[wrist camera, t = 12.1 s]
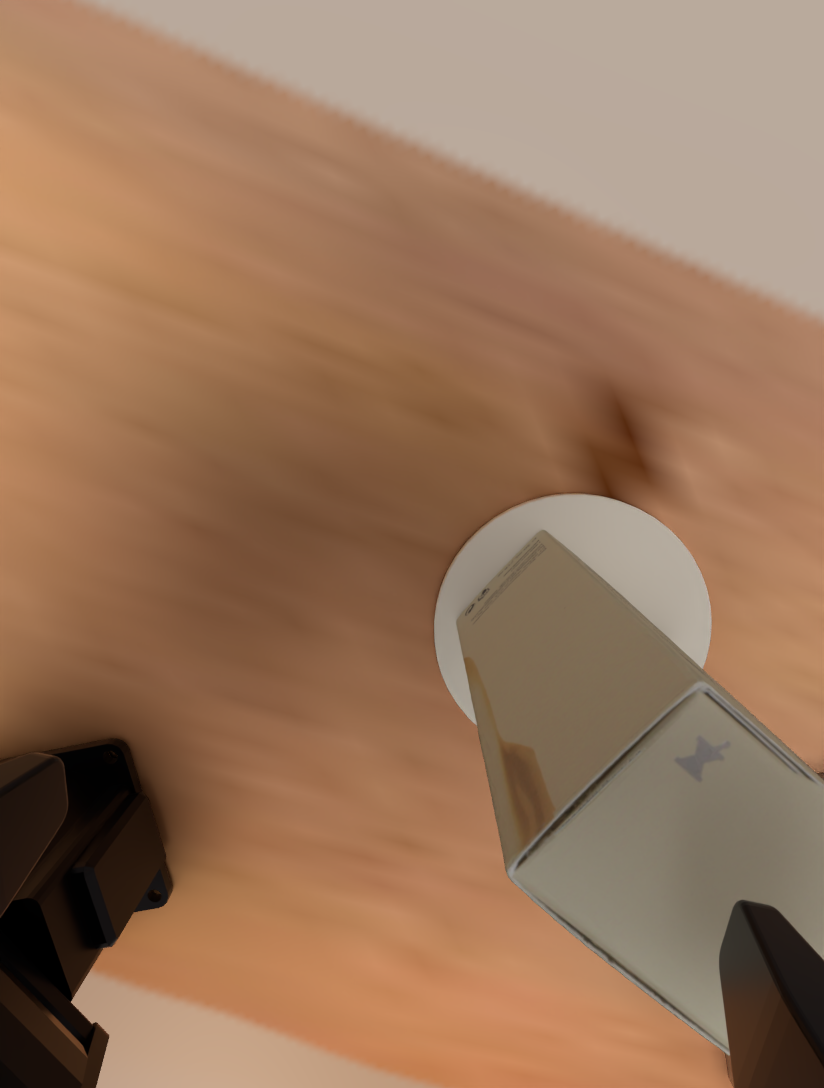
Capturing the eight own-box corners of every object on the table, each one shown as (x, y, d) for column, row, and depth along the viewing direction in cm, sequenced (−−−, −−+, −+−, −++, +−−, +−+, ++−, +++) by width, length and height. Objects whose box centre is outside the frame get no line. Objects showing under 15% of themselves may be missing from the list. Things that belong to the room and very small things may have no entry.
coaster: (462, 771, 24) (463, 780, 23) (408, 524, 22) (408, 527, 22) (720, 724, 23) (727, 732, 23) (684, 466, 22) (691, 468, 21)
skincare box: (450, 620, 22) (477, 867, 10) (542, 522, 21) (689, 660, 9) (592, 743, 23) (776, 1110, 11) (685, 651, 22) (993, 934, 10)
